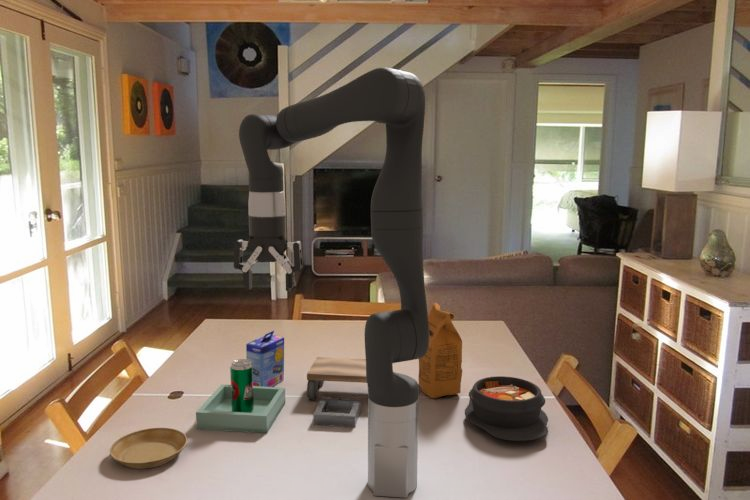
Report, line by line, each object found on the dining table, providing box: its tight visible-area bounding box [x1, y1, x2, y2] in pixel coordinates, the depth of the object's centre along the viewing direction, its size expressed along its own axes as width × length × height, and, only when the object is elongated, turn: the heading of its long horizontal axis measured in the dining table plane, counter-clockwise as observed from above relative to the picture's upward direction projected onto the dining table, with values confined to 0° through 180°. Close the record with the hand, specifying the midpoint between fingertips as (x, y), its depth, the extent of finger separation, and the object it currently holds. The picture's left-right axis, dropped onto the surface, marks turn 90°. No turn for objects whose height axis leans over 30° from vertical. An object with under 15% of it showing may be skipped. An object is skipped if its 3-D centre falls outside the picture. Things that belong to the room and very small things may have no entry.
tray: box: [195, 384, 286, 434], centre depth 145 cm, size 16×16×4 cm
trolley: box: [306, 356, 367, 401], centre depth 158 cm, size 14×18×7 cm
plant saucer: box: [109, 427, 188, 470], centre depth 127 cm, size 15×15×3 cm
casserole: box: [464, 375, 549, 442], centre depth 142 cm, size 25×19×8 cm
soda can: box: [229, 358, 254, 413], centre depth 144 cm, size 5×5×12 cm
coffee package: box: [418, 302, 463, 399], centre depth 159 cm, size 10×12×22 cm
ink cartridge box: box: [245, 330, 285, 387], centre depth 163 cm, size 10×6×14 cm, turn 152°
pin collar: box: [313, 397, 362, 428], centre depth 145 cm, size 9×9×2 cm
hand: (269, 289), depth 132 cm, fingers open, 8 cm apart
